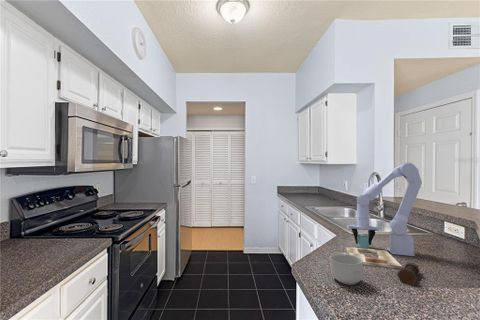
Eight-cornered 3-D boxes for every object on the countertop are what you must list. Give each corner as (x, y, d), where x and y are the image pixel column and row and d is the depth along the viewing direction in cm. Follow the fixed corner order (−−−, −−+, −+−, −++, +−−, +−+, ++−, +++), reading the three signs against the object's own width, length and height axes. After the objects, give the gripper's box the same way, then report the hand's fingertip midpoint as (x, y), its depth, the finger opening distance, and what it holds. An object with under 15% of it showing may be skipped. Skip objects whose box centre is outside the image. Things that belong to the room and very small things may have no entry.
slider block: (366, 246, 125) (366, 235, 125) (368, 249, 120) (368, 237, 121) (357, 245, 126) (357, 234, 126) (359, 248, 121) (359, 236, 122)
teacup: (361, 291, 77) (361, 266, 78) (326, 282, 83) (326, 259, 83) (365, 275, 89) (364, 254, 89) (334, 269, 95) (334, 248, 95)
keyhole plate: (386, 253, 115) (386, 247, 115) (402, 269, 96) (402, 262, 96) (346, 249, 120) (346, 244, 120) (353, 263, 101) (353, 257, 101)
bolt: (415, 277, 93) (409, 289, 82) (402, 267, 96) (394, 277, 85) (425, 266, 91) (419, 276, 81) (411, 256, 95) (403, 265, 84)
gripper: (376, 217, 126) (376, 243, 125) (346, 215, 130) (346, 240, 129) (380, 219, 119) (380, 247, 118) (348, 217, 123) (348, 244, 122)
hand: (363, 244), depth 123 cm, fingers open, 5 cm apart
